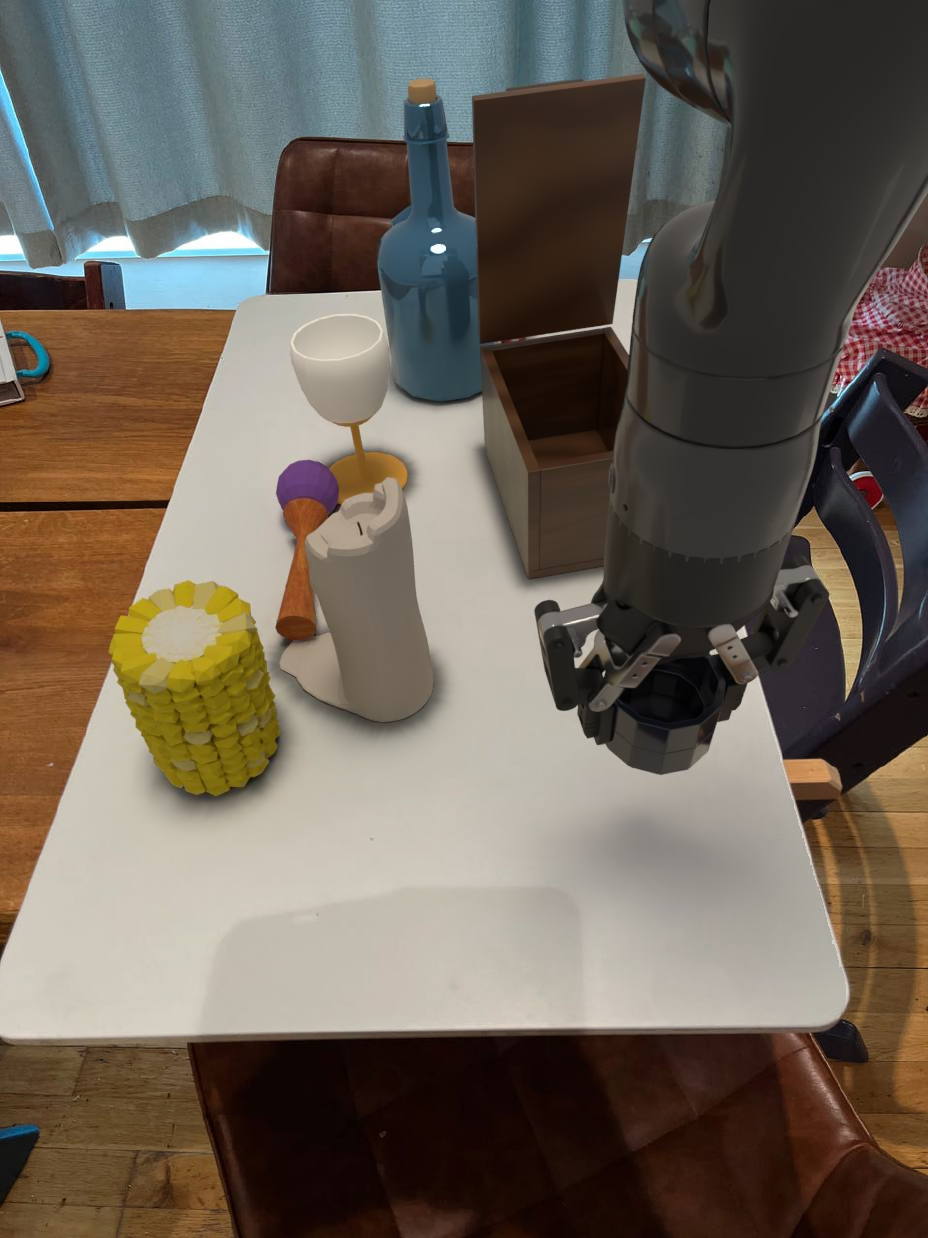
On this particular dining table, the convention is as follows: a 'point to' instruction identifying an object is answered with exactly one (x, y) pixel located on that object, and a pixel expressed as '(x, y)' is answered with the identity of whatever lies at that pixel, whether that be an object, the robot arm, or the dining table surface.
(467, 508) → the dining table surface
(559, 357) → the chest
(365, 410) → the cup
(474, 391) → the wine bottle
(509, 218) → the lid
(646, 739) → the bowl
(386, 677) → the candle
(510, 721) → the dining table surface
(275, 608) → the dining table surface
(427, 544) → the dining table surface
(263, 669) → the food
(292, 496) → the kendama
